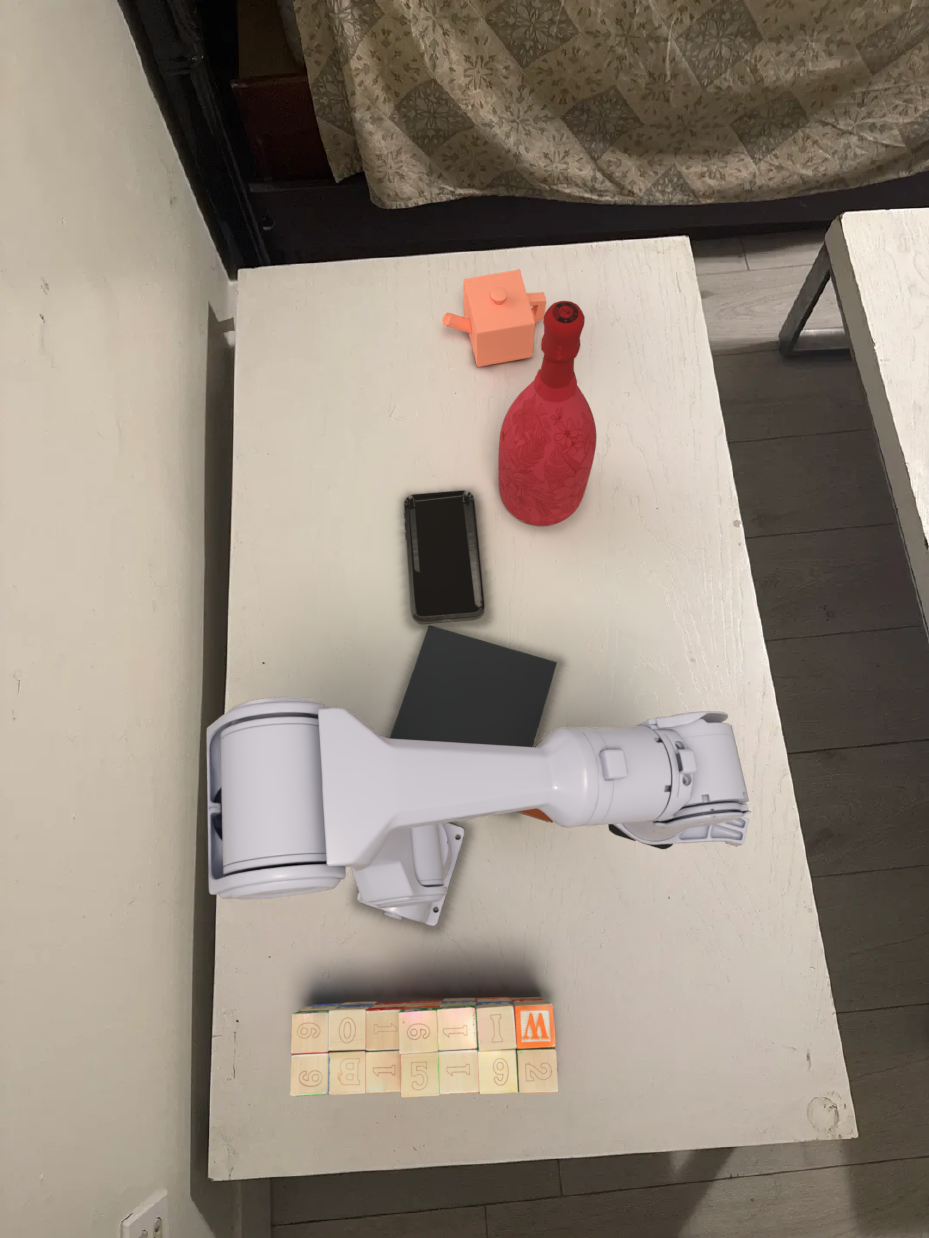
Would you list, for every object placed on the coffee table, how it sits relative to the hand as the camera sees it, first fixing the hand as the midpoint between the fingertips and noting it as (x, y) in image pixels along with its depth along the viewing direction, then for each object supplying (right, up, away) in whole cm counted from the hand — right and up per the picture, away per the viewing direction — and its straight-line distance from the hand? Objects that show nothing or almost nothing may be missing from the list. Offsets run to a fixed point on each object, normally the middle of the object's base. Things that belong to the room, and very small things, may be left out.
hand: (632, 818), depth 75 cm
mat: (-14, +7, +14) cm, 21 cm away
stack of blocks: (-18, -21, +4) cm, 28 cm away
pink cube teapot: (-11, +51, +30) cm, 60 cm away
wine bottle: (-6, +31, +23) cm, 39 cm away
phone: (-17, +24, +20) cm, 36 cm away
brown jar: (-5, 0, +8) cm, 10 cm away
